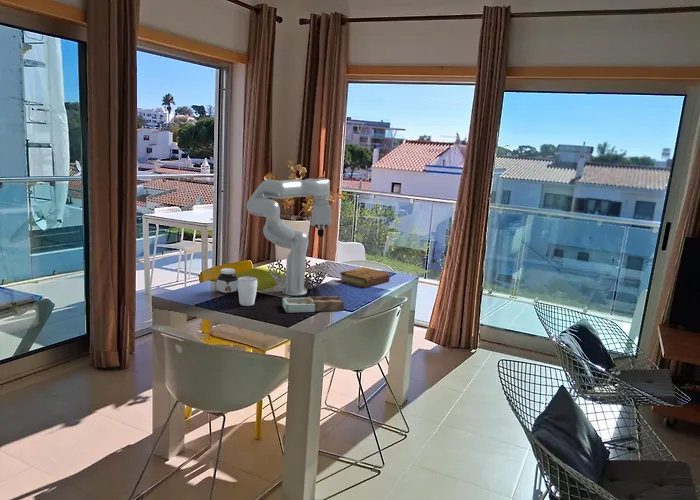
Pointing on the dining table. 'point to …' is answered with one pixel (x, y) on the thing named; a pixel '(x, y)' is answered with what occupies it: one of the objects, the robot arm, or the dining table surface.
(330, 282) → the dining table surface
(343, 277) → the diary
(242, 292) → the cup
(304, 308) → the box
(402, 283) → the dining table surface
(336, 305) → the bench plate
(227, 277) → the spread jar
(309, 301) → the maple tile
